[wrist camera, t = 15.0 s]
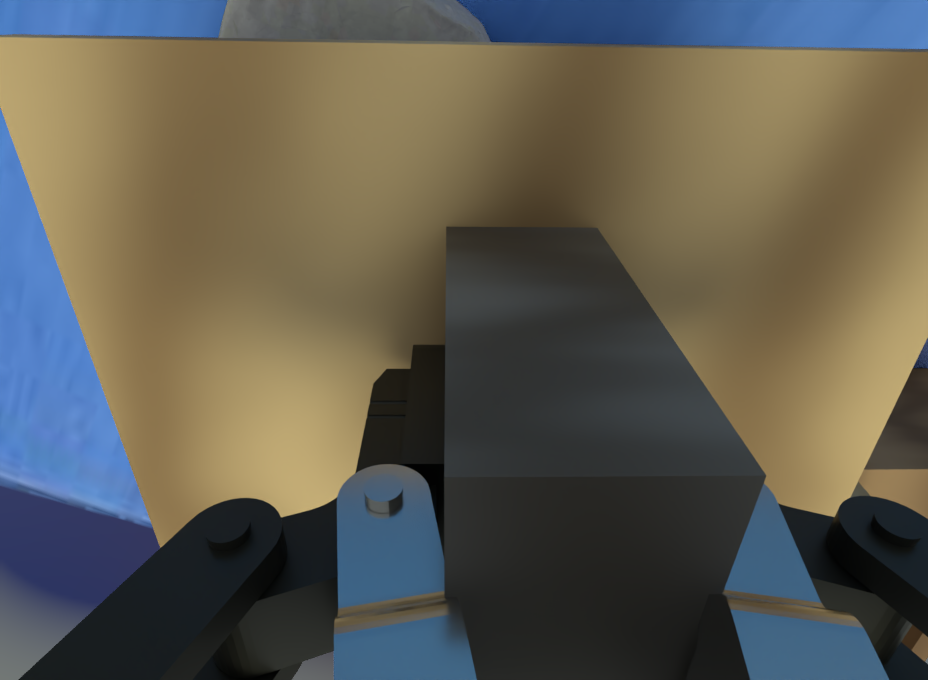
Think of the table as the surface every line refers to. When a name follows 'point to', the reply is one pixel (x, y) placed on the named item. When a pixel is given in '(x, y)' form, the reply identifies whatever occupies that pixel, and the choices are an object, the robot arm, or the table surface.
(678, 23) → the table surface
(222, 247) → the lid
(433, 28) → the stone block
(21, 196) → the table surface
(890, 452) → the wooden box
